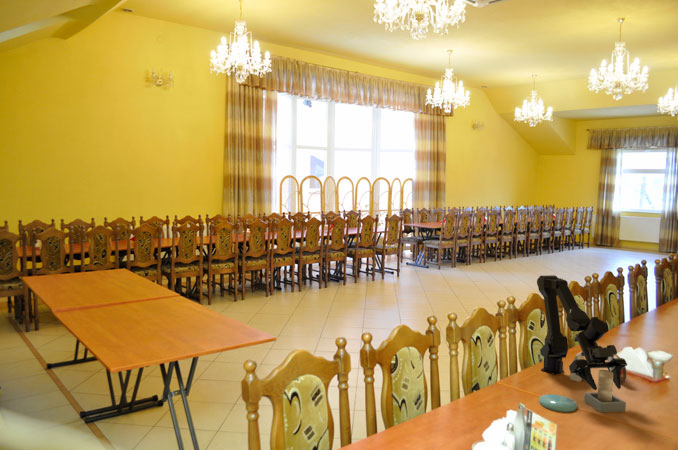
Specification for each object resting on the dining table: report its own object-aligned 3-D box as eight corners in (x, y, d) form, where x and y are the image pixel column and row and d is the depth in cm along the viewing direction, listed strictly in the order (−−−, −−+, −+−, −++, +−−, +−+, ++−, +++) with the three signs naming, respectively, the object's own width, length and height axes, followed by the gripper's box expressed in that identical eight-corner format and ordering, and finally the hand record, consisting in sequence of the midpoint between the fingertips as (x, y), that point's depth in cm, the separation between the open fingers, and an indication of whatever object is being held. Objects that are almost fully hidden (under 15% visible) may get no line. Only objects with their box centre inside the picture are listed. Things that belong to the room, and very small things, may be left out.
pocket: (584, 401, 177) (584, 392, 177) (608, 400, 178) (608, 391, 178) (600, 412, 168) (600, 403, 168) (625, 411, 169) (625, 402, 169)
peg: (594, 405, 174) (596, 371, 173) (601, 402, 176) (602, 368, 175) (607, 410, 170) (609, 375, 169) (614, 406, 173) (615, 372, 172)
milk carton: (569, 379, 197) (570, 354, 196) (575, 374, 202) (576, 350, 202) (579, 382, 195) (580, 356, 194) (585, 377, 200) (586, 352, 199)
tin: (626, 384, 193) (627, 363, 192) (617, 384, 193) (618, 362, 193) (613, 370, 207) (614, 350, 207) (605, 370, 208) (606, 350, 207)
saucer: (532, 402, 176) (532, 399, 176) (551, 394, 183) (551, 391, 183) (564, 415, 166) (564, 412, 166) (583, 406, 173) (583, 403, 173)
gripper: (575, 337, 174) (593, 380, 164) (625, 335, 177) (646, 378, 166) (561, 351, 183) (578, 393, 173) (609, 350, 185) (628, 391, 175)
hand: (607, 389), depth 171 cm, fingers open, 8 cm apart
